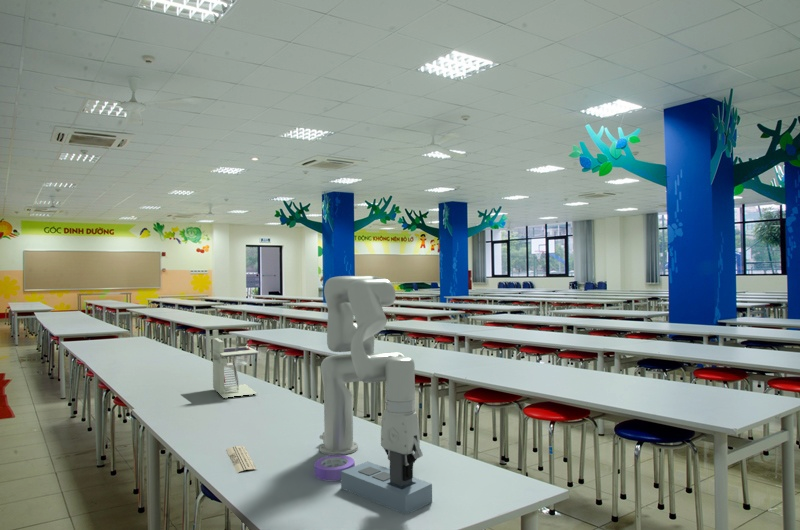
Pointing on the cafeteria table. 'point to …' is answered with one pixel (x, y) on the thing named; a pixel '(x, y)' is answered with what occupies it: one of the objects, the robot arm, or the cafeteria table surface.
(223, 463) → the cafeteria table surface
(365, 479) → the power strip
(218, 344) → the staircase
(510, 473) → the cafeteria table surface
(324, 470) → the masking tape
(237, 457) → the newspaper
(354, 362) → the robot arm
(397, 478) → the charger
